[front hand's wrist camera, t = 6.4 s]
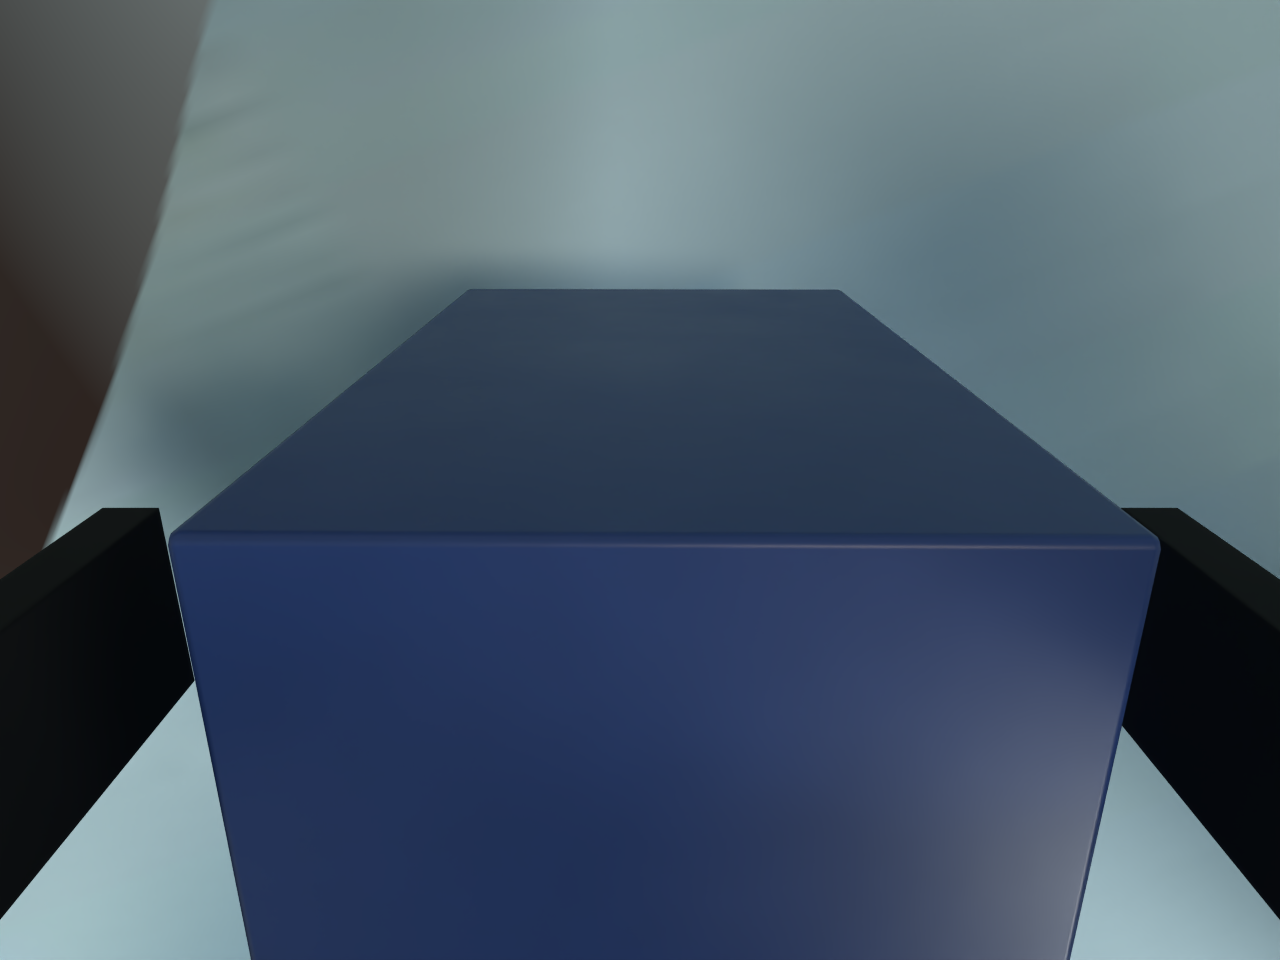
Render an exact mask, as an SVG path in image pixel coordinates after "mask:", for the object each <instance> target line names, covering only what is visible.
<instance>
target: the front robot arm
mask: <svg viewBox="0 0 1280 960" xmlns="http://www.w3.org/2000/svg"><path fill="white" fill-rule="evenodd" d="M1121 509H1122V510H1123V511H1125V512H1126V513H1127V514H1129V515H1130V516H1131V517H1132V518H1134V519H1135V520H1136V521H1138V522H1139V523H1140V524H1141V525H1143V526H1144V527H1145V528H1147V529H1148V530H1149V531H1150V532H1152V533H1153V534H1154V535H1156V536H1157V537H1158V539H1159V541H1160V548H1161V551H1160V555H1159V560H1158V564H1157V569H1156V573H1155V578H1154V582H1153V587H1152V591H1151V596H1150V600H1149V605H1148V609H1147V614H1146V618H1145V623H1144V627H1143V632H1142V636H1141V641H1140V645H1139V650H1138V654H1137V659H1136V663H1135V668H1134V673H1133V677H1132V682H1131V686H1130V691H1129V695H1128V700H1127V704H1126V709H1125V713H1124V718H1123V722H1122V726H1123V727H1124V729H1125V730H1126V731H1127V732H1128V734H1129V735H1130V736H1131V737H1132V738H1133V740H1134V741H1135V742H1136V743H1137V745H1138V746H1139V747H1140V748H1141V750H1142V751H1143V752H1144V753H1145V754H1146V756H1147V757H1148V758H1149V759H1150V761H1151V762H1152V763H1153V764H1154V766H1155V767H1156V768H1157V769H1158V770H1159V772H1160V773H1161V774H1162V775H1163V777H1164V778H1165V779H1166V780H1167V781H1168V783H1169V784H1170V785H1171V786H1172V788H1173V789H1174V790H1175V791H1176V793H1177V794H1178V795H1179V796H1180V797H1181V799H1182V800H1183V801H1184V802H1185V804H1186V805H1187V806H1188V807H1189V809H1190V810H1191V811H1192V812H1193V813H1194V815H1195V816H1196V817H1197V818H1198V820H1199V821H1200V822H1201V823H1202V825H1203V826H1204V827H1205V828H1206V829H1207V831H1208V832H1209V833H1210V834H1211V836H1212V837H1213V838H1214V839H1215V841H1216V842H1217V843H1218V844H1219V845H1220V847H1221V848H1222V849H1223V850H1224V852H1225V853H1226V854H1227V855H1228V857H1229V858H1230V859H1231V860H1232V861H1233V863H1234V864H1235V865H1236V866H1237V868H1238V869H1239V870H1240V871H1241V873H1242V874H1243V875H1244V876H1245V877H1246V879H1247V880H1248V881H1249V882H1250V884H1251V885H1252V886H1253V887H1254V889H1255V890H1256V891H1257V892H1258V893H1259V895H1260V896H1261V897H1262V898H1263V900H1264V901H1265V902H1266V903H1267V905H1268V906H1269V907H1270V908H1271V909H1272V911H1273V912H1274V913H1275V914H1276V916H1277V917H1278V918H1279V919H1280V579H1278V578H1277V577H1275V576H1274V575H1273V574H1271V573H1270V572H1268V571H1267V570H1265V569H1264V568H1263V567H1261V566H1260V565H1258V564H1257V563H1255V562H1254V561H1253V560H1251V559H1250V558H1248V557H1247V556H1245V555H1244V554H1243V553H1241V552H1240V551H1238V550H1237V549H1235V548H1234V547H1233V546H1231V545H1230V544H1228V543H1227V542H1225V541H1224V540H1223V539H1221V538H1220V537H1218V536H1217V535H1215V534H1214V533H1212V532H1211V531H1210V530H1208V529H1207V528H1205V527H1204V526H1202V525H1201V524H1200V523H1198V522H1197V521H1195V520H1194V519H1192V518H1191V517H1190V516H1188V515H1187V514H1185V513H1184V512H1182V511H1181V510H1180V509H1178V508H1121ZM194 681H195V680H194V676H193V671H192V666H191V661H190V656H189V651H188V647H187V642H186V637H185V632H184V627H183V623H182V618H181V613H180V608H179V603H178V598H177V594H176V589H175V584H174V579H173V574H172V569H171V565H170V560H169V555H168V550H167V545H166V540H165V536H164V531H163V526H162V521H161V516H160V511H159V508H102V509H100V510H99V511H98V512H96V513H95V514H93V515H92V516H90V517H89V518H88V519H86V520H85V521H83V522H82V523H80V524H79V525H78V526H76V527H75V528H73V529H72V530H70V531H69V532H68V533H66V534H65V535H63V536H62V537H60V538H59V539H57V540H56V541H55V542H53V543H52V544H50V545H49V546H47V547H46V548H45V549H43V550H42V551H40V552H39V553H37V554H36V555H35V556H33V557H32V558H30V559H29V560H27V561H26V562H25V563H23V564H22V565H20V566H19V567H17V568H16V569H15V570H13V571H12V572H10V573H9V574H7V575H6V576H5V577H3V578H2V579H0V919H1V918H2V917H3V916H4V914H5V913H6V912H7V911H8V909H9V908H10V907H11V906H12V905H13V903H14V902H15V901H16V900H17V898H18V897H19V896H20V895H21V893H22V892H23V891H24V890H25V889H26V887H27V886H28V885H29V884H30V882H31V881H32V880H33V879H34V877H35V876H36V875H37V874H38V873H39V871H40V870H41V869H42V868H43V866H44V865H45V864H46V863H47V861H48V860H49V859H50V858H51V857H52V855H53V854H54V853H55V852H56V850H57V849H58V848H59V847H60V845H61V844H62V843H63V842H64V841H65V839H66V838H67V837H68V836H69V834H70V833H71V832H72V831H73V829H74V828H75V827H76V826H77V825H78V823H79V822H80V821H81V820H82V818H83V817H84V816H85V815H86V813H87V812H88V811H89V810H90V809H91V807H92V806H93V805H94V804H95V802H96V801H97V800H98V799H99V797H100V796H101V795H102V794H103V793H104V791H105V790H106V789H107V788H108V786H109V785H110V784H111V783H112V781H113V780H114V779H115V778H116V777H117V775H118V774H119V773H120V772H121V770H122V769H123V768H124V767H125V765H126V764H127V763H128V762H129V761H130V759H131V758H132V757H133V756H134V754H135V753H136V752H137V751H138V750H139V748H140V747H141V746H142V745H143V743H144V742H145V741H146V740H147V738H148V737H149V736H150V735H151V734H152V732H153V731H154V730H155V729H156V727H157V726H158V725H159V724H160V722H161V721H162V720H163V719H164V718H165V716H166V715H167V714H168V713H169V711H170V710H171V709H172V708H173V706H174V705H175V704H176V703H177V702H178V700H179V699H180V698H181V697H182V695H183V694H184V693H185V692H186V690H187V689H188V688H189V687H190V686H191V684H192V683H193V682H194Z"/></svg>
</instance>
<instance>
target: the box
mask: <svg viewBox="0 0 1280 960" xmlns="http://www.w3.org/2000/svg"><path fill="white" fill-rule="evenodd" d="M168 547H169V552H170V557H171V562H172V567H173V572H174V577H175V582H176V587H177V592H178V597H179V602H180V607H181V612H182V617H183V622H184V627H185V632H186V637H187V642H188V647H189V652H190V657H191V662H192V667H193V672H194V677H195V682H196V687H197V692H198V697H199V702H200V707H201V712H202V717H203V722H204V727H205V732H206V737H207V742H208V747H209V752H210V757H211V762H212V767H213V772H214V777H215V782H216V787H217V792H218V797H219V802H220V807H221V812H222V817H223V822H224V827H225V832H226V837H227V842H228V847H229V852H230V856H231V861H232V866H233V871H234V876H235V881H236V886H237V891H238V896H239V901H240V906H241V911H242V916H243V921H244V926H245V931H246V936H247V941H248V946H249V951H250V956H251V960H1070V956H1071V952H1072V947H1073V943H1074V938H1075V934H1076V929H1077V925H1078V920H1079V916H1080V911H1081V907H1082V902H1083V898H1084V893H1085V889H1086V884H1087V880H1088V875H1089V871H1090V866H1091V862H1092V857H1093V853H1094V848H1095V844H1096V839H1097V835H1098V830H1099V826H1100V821H1101V817H1102V812H1103V808H1104V803H1105V799H1106V794H1107V790H1108V785H1109V781H1110V776H1111V772H1112V767H1113V763H1114V758H1115V754H1116V749H1117V745H1118V740H1119V736H1120V731H1121V727H1122V722H1123V718H1124V713H1125V709H1126V704H1127V700H1128V695H1129V691H1130V686H1131V682H1132V677H1133V673H1134V668H1135V663H1136V659H1137V654H1138V650H1139V645H1140V641H1141V636H1142V632H1143V627H1144V623H1145V618H1146V614H1147V609H1148V605H1149V600H1150V596H1151V591H1152V587H1153V582H1154V578H1155V573H1156V569H1157V564H1158V560H1159V555H1160V551H1161V548H1160V541H1159V539H1158V537H1157V536H1156V535H1154V534H1153V533H1152V532H1150V531H1149V530H1148V529H1147V528H1145V527H1144V526H1143V525H1141V524H1140V523H1139V522H1138V521H1136V520H1135V519H1134V518H1132V517H1131V516H1130V515H1129V514H1127V513H1126V512H1125V511H1123V510H1122V509H1121V508H1120V507H1118V506H1117V505H1116V504H1114V503H1113V502H1112V501H1111V500H1109V499H1108V498H1107V497H1105V496H1104V495H1103V494H1102V493H1100V492H1099V491H1098V490H1096V489H1095V488H1094V487H1093V486H1091V485H1090V484H1089V483H1087V482H1086V481H1085V480H1084V479H1082V478H1081V477H1080V476H1078V475H1077V474H1076V473H1074V472H1073V471H1072V470H1071V469H1069V468H1068V467H1067V466H1065V465H1064V464H1063V463H1062V462H1060V461H1059V460H1058V459H1056V458H1055V457H1054V456H1053V455H1051V454H1050V453H1049V452H1047V451H1046V450H1045V449H1044V448H1042V447H1041V446H1040V445H1038V444H1037V443H1036V442H1035V441H1033V440H1032V439H1031V438H1029V437H1028V436H1027V435H1026V434H1024V433H1023V432H1022V431H1020V430H1019V429H1018V428H1017V427H1015V426H1014V425H1013V424H1011V423H1010V422H1009V421H1008V420H1006V419H1005V418H1004V417H1002V416H1001V415H1000V414H999V413H997V412H996V411H995V410H993V409H992V408H991V407H990V406H988V405H987V404H986V403H984V402H983V401H982V400H981V399H979V398H978V397H977V396H975V395H974V394H973V393H972V392H970V391H969V390H968V389H966V388H965V387H964V386H963V385H961V384H960V383H959V382H957V381H956V380H955V379H954V378H952V377H951V376H950V375H948V374H947V373H946V372H945V371H943V370H942V369H941V368H939V367H938V366H937V365H936V364H934V363H933V362H932V361H930V360H929V359H928V358H927V357H925V356H924V355H923V354H921V353H920V352H919V351H918V350H916V349H915V348H914V347H912V346H911V345H910V344H908V343H907V342H906V341H905V340H903V339H902V338H901V337H899V336H898V335H897V334H896V333H894V332H893V331H892V330H890V329H889V328H888V327H887V326H885V325H884V324H883V323H881V322H880V321H879V320H878V319H876V318H875V317H874V316H872V315H871V314H870V313H869V312H867V311H866V310H865V309H863V308H862V307H861V306H860V305H858V304H857V303H856V302H854V301H853V300H852V299H851V298H849V297H848V296H847V295H845V294H844V293H843V292H842V291H840V290H665V289H470V290H468V291H466V292H465V293H464V294H463V295H461V296H460V297H459V298H458V299H457V300H455V301H454V302H453V303H452V304H450V305H449V306H448V307H447V308H446V309H444V310H443V311H442V312H441V313H439V314H438V315H437V316H436V317H435V318H433V319H432V320H431V321H430V322H429V323H427V324H426V325H425V326H424V327H422V328H421V329H420V330H419V331H418V332H416V333H415V334H414V335H413V336H411V337H410V338H409V339H408V340H407V341H405V342H404V343H403V344H402V345H400V346H399V347H398V348H397V349H396V350H394V351H393V352H392V353H391V354H389V355H388V356H387V357H386V358H385V359H383V360H382V361H381V362H380V363H378V364H377V365H376V366H375V367H374V368H372V369H371V370H370V371H369V372H367V373H366V374H365V375H364V376H363V377H361V378H360V379H359V380H358V381H356V382H355V383H354V384H353V385H352V386H350V387H349V388H348V389H347V390H345V391H344V392H343V393H342V394H341V395H339V396H338V397H337V398H336V399H334V400H333V401H332V402H331V403H330V404H328V405H327V406H326V407H325V408H323V409H322V410H321V411H320V412H319V413H317V414H316V415H315V416H314V417H312V418H311V419H310V420H309V421H308V422H306V423H305V424H304V425H303V426H301V427H300V428H299V429H298V430H297V431H295V432H294V433H293V434H292V435H291V436H289V437H288V438H287V439H286V440H284V441H283V442H282V443H281V444H280V445H278V446H277V447H276V448H275V449H273V450H272V451H271V452H270V453H269V454H267V455H266V456H265V457H264V458H262V459H261V460H260V461H259V462H258V463H256V464H255V465H254V466H253V467H251V468H250V469H249V470H248V471H247V472H245V473H244V474H243V475H242V476H240V477H239V478H238V479H237V480H236V481H234V482H233V483H232V484H231V485H229V486H228V487H227V488H226V489H225V490H223V491H222V492H221V493H220V494H218V495H217V496H216V497H215V498H214V499H212V500H211V501H210V502H209V503H207V504H206V505H205V506H204V507H203V508H201V509H200V510H199V511H198V512H196V513H195V514H194V515H193V516H192V517H190V518H189V519H188V520H187V521H185V522H184V523H183V524H182V525H181V526H179V527H178V528H177V529H176V530H174V531H173V532H172V533H171V535H170V537H169V543H168Z"/></svg>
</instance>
